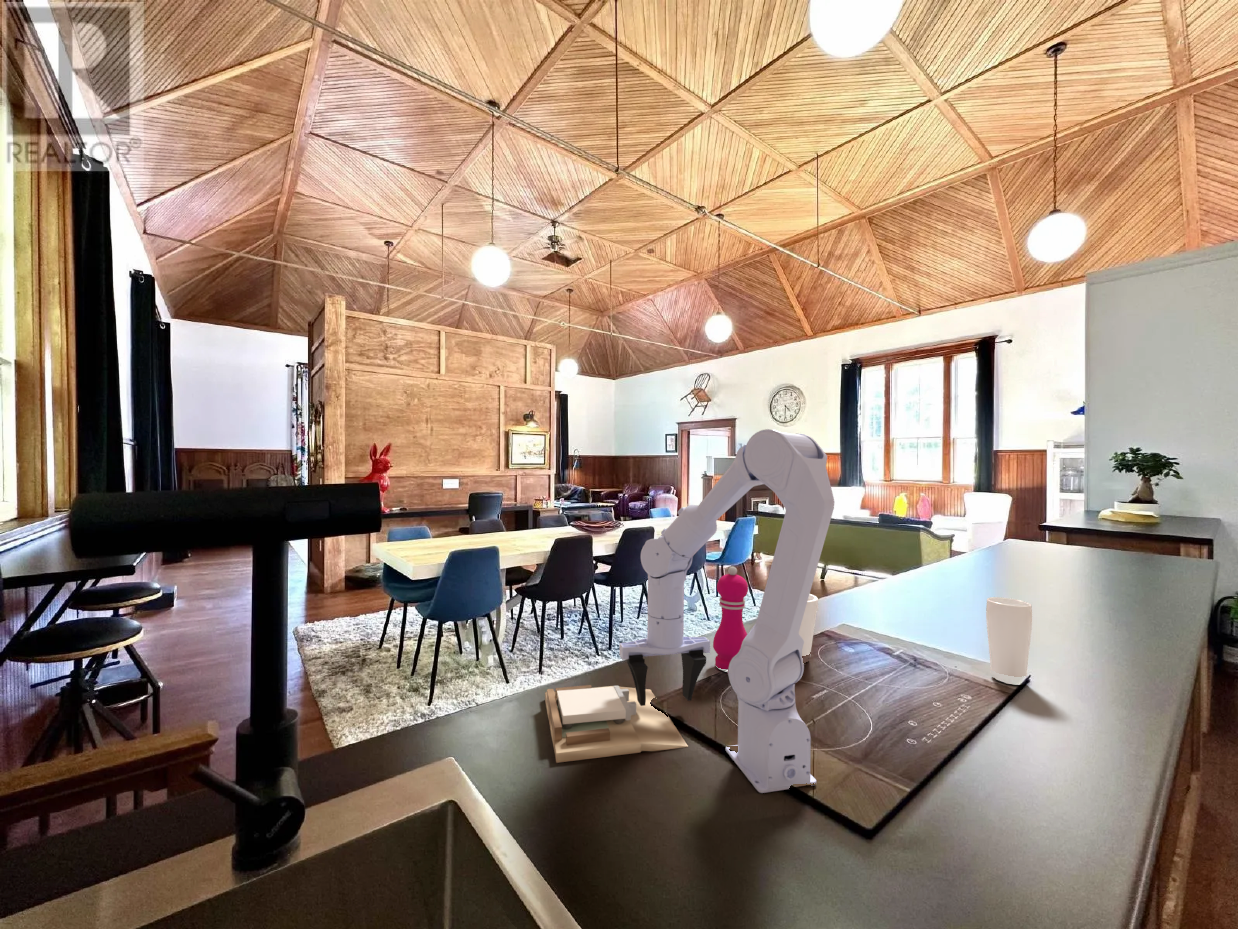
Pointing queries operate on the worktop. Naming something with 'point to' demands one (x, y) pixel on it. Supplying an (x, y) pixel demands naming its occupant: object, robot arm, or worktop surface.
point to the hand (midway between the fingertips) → (664, 700)
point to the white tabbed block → (594, 705)
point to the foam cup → (808, 624)
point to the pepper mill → (730, 617)
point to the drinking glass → (1009, 635)
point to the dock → (611, 731)
